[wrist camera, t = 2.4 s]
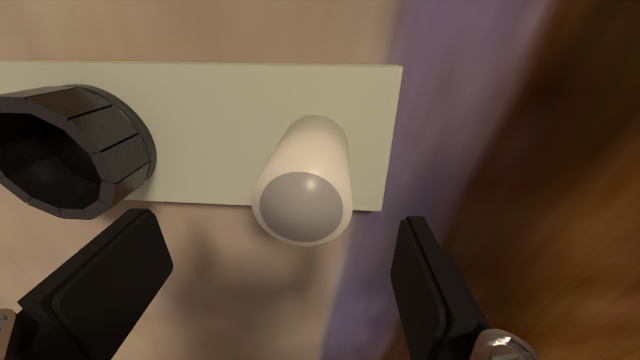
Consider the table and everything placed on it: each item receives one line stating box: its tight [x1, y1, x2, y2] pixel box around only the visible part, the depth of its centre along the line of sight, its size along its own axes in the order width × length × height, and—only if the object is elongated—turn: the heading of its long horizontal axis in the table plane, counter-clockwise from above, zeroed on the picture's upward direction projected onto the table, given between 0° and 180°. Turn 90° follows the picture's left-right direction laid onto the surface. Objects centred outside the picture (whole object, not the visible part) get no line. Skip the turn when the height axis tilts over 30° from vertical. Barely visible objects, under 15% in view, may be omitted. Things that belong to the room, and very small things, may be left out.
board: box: [0, 60, 403, 211], centre depth 18 cm, size 26×10×2 cm, turn 90°
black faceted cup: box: [0, 84, 157, 220], centre depth 16 cm, size 8×8×4 cm
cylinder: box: [251, 115, 353, 246], centre depth 14 cm, size 4×4×7 cm
